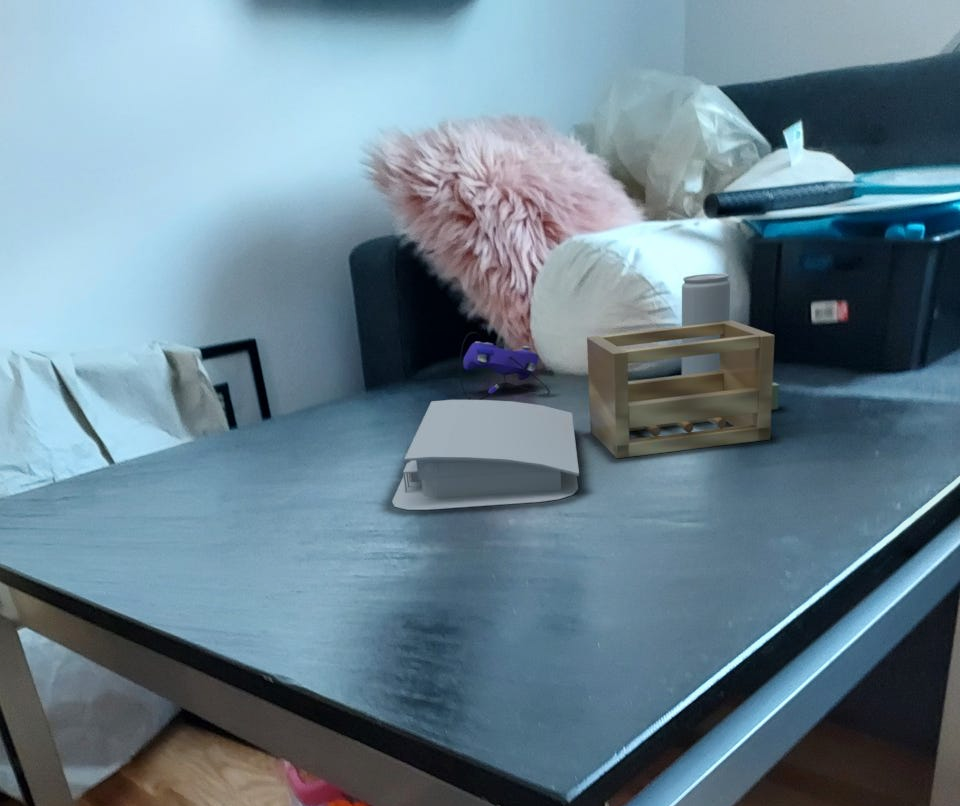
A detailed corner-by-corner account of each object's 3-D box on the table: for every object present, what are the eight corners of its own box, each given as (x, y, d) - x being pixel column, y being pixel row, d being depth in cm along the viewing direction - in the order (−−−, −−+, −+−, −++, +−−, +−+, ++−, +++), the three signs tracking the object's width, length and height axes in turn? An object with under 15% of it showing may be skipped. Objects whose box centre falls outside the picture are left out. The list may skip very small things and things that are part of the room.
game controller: (527, 346, 118) (558, 338, 109) (518, 413, 119) (547, 411, 110) (451, 331, 115) (476, 322, 105) (442, 400, 116) (466, 397, 107)
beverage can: (712, 387, 105) (714, 272, 100) (736, 395, 101) (739, 275, 96) (673, 394, 104) (673, 277, 99) (695, 402, 100) (697, 280, 94)
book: (387, 512, 76) (380, 464, 74) (420, 438, 96) (415, 400, 95) (580, 499, 74) (578, 450, 73) (572, 427, 95) (570, 387, 93)
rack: (729, 415, 94) (732, 320, 90) (770, 439, 85) (774, 334, 81) (590, 432, 92) (586, 336, 89) (616, 458, 84) (613, 353, 80)
